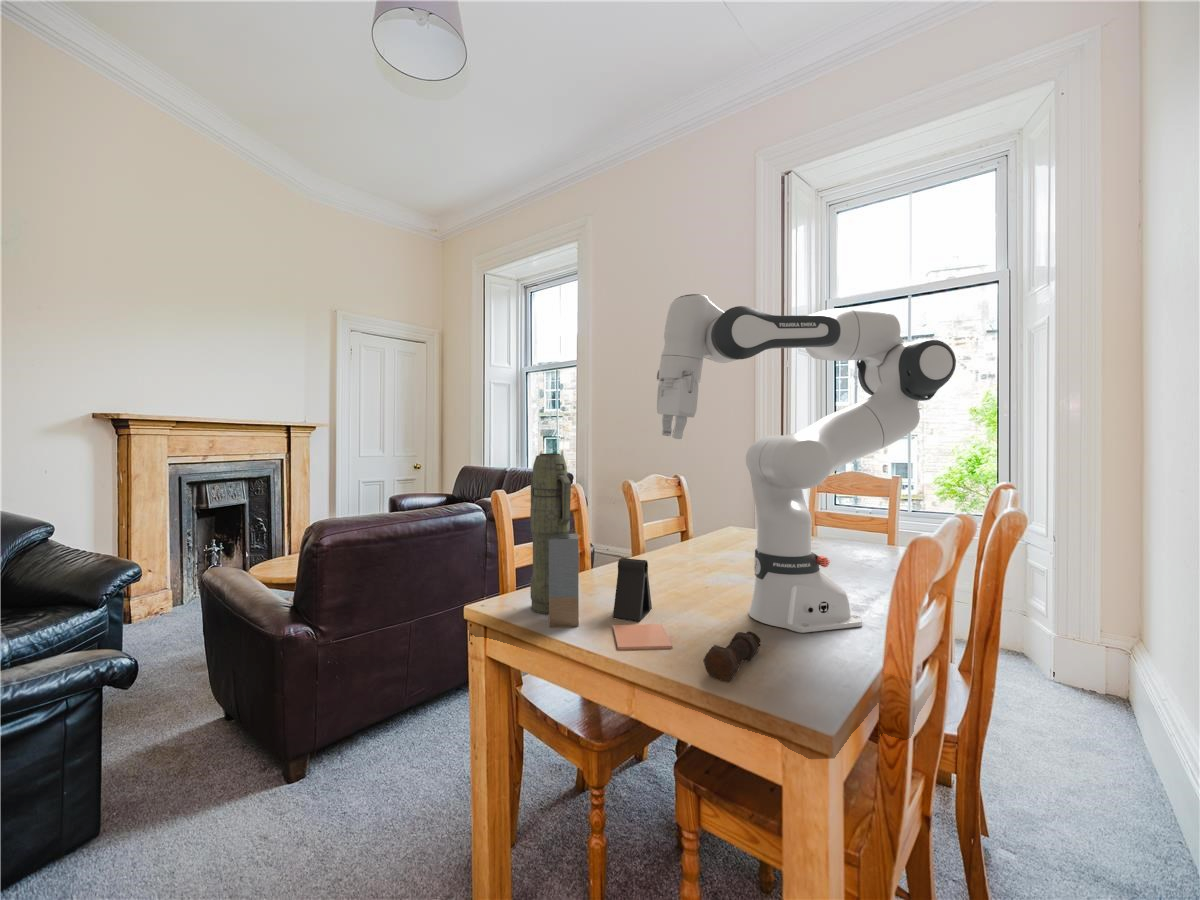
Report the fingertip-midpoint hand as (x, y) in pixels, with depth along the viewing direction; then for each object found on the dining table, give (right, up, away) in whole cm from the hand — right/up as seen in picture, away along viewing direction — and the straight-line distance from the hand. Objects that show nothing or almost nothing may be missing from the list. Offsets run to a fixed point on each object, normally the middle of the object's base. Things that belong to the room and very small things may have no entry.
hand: (671, 437), depth 111 cm
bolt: (+8, -40, -22) cm, 46 cm away
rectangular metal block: (-23, -39, -2) cm, 45 cm away
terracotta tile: (-7, -39, -11) cm, 41 cm away
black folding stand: (-8, -39, +3) cm, 40 cm away
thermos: (-26, -39, +7) cm, 47 cm away
